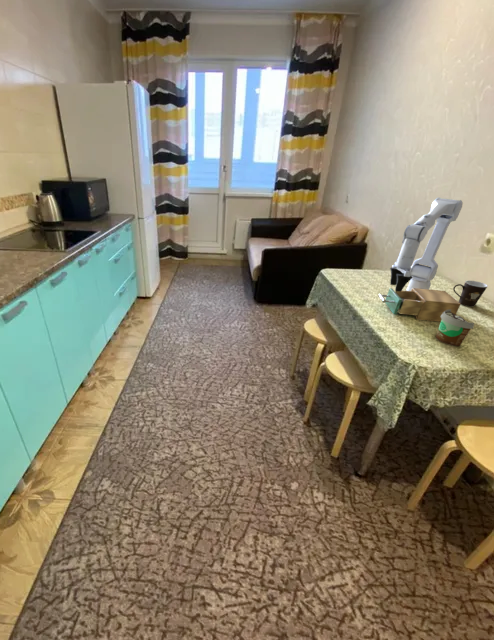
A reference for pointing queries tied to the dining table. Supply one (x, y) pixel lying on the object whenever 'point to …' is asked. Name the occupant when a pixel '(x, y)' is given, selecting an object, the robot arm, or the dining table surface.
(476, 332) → the dining table surface
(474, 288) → the coffee mug
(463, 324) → the food container
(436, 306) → the cabinet
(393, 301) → the drawer
